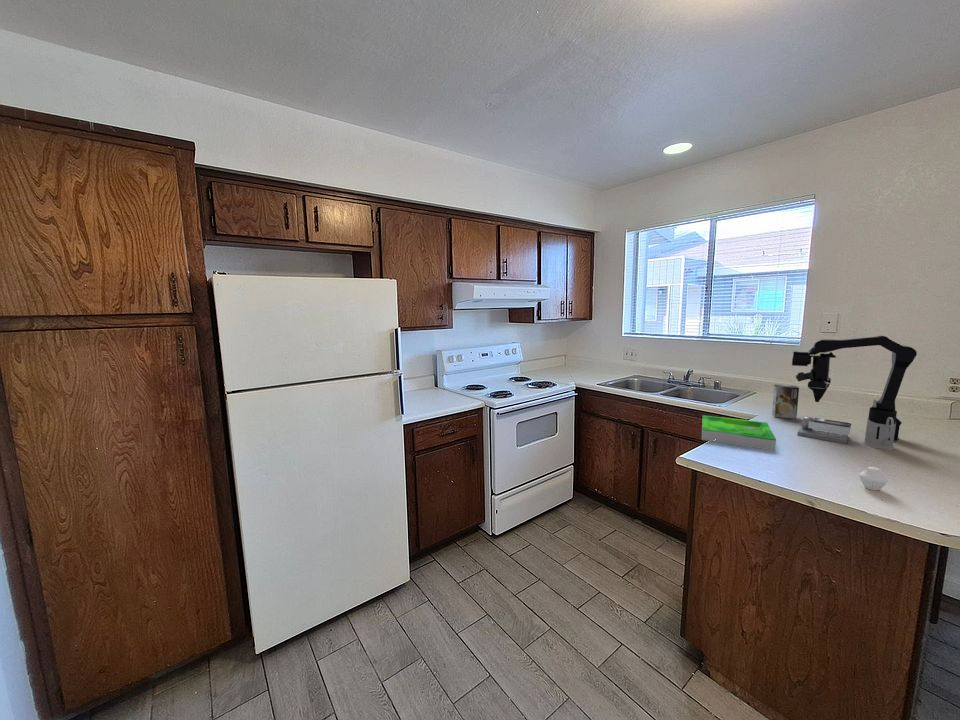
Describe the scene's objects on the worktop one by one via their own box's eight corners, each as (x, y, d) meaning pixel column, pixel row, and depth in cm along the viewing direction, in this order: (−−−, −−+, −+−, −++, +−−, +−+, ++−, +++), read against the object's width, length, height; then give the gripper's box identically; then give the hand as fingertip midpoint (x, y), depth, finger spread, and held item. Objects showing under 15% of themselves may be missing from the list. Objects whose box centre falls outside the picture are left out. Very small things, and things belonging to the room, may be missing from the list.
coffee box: (793, 415, 193) (796, 385, 191) (796, 419, 188) (800, 387, 186) (771, 413, 198) (774, 383, 196) (773, 416, 192) (777, 386, 190)
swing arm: (801, 428, 166) (802, 417, 166) (802, 426, 170) (803, 415, 169) (849, 437, 155) (851, 425, 155) (850, 434, 159) (851, 422, 158)
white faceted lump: (884, 495, 112) (887, 473, 111) (855, 487, 117) (858, 466, 116) (887, 489, 115) (890, 467, 114) (860, 482, 120) (862, 461, 119)
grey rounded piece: (888, 444, 153) (893, 408, 151) (904, 455, 141) (910, 417, 139) (859, 440, 157) (863, 405, 155) (872, 451, 145) (877, 414, 143)
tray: (702, 425, 182) (702, 415, 181) (766, 433, 169) (767, 422, 168) (701, 440, 160) (702, 429, 160) (774, 451, 148) (776, 439, 147)
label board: (847, 436, 161) (848, 432, 161) (846, 443, 153) (846, 439, 153) (801, 428, 173) (801, 425, 172) (797, 435, 164) (797, 431, 164)
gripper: (801, 363, 183) (799, 394, 185) (794, 367, 170) (792, 401, 172) (832, 365, 174) (829, 397, 176) (827, 369, 162) (824, 405, 164)
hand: (818, 400), depth 172 cm, fingers open, 9 cm apart
